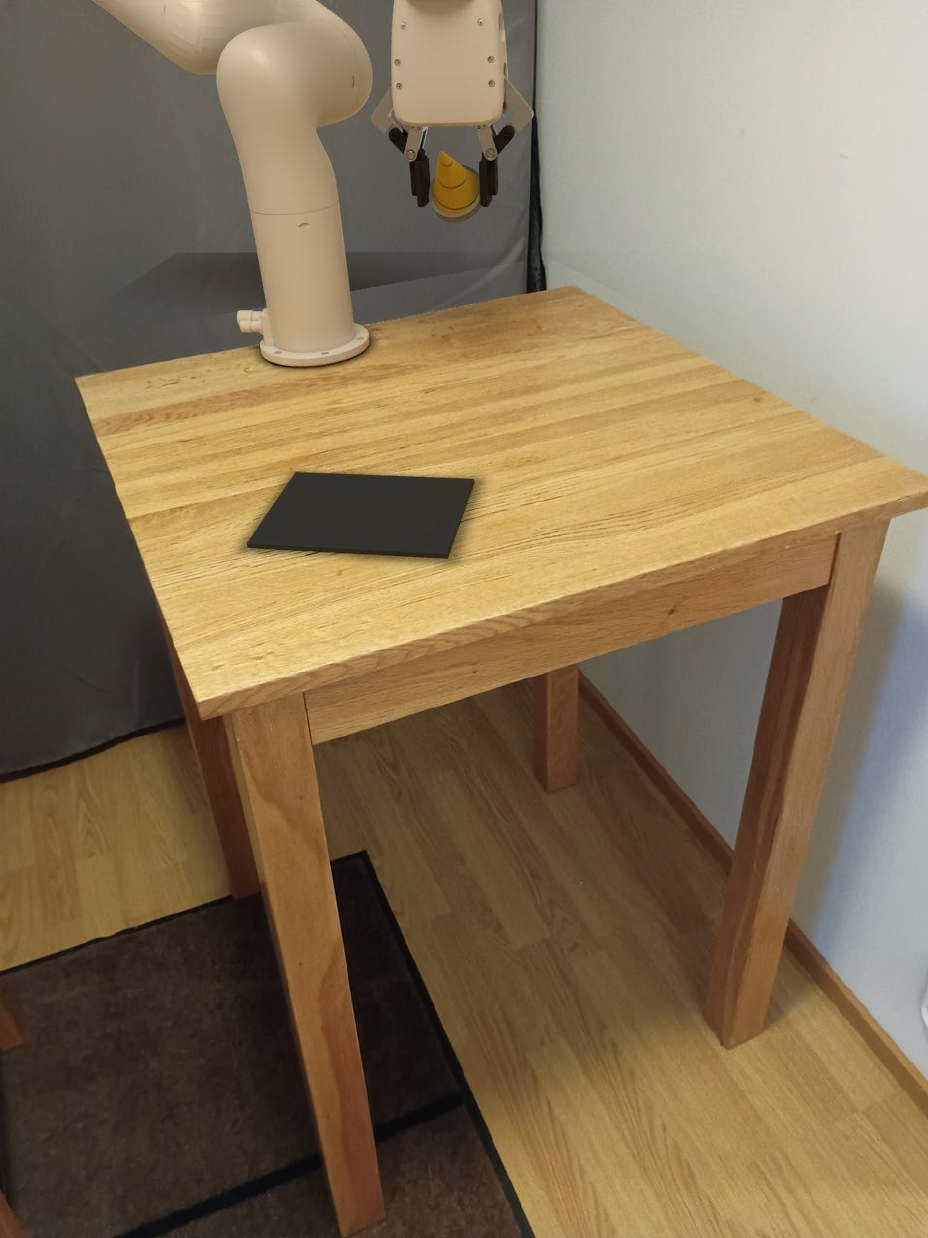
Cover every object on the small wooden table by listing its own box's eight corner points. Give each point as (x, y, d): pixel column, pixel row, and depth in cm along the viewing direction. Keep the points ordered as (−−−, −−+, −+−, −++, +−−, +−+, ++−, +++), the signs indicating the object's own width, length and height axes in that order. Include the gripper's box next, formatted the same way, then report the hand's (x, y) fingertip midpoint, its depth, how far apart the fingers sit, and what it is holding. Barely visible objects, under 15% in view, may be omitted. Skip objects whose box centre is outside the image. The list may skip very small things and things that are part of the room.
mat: (247, 547, 72) (246, 543, 72) (296, 475, 82) (295, 471, 82) (447, 558, 70) (447, 553, 69) (474, 482, 79) (474, 478, 79)
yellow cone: (499, 218, 91) (480, 156, 82) (453, 247, 92) (428, 190, 82) (474, 177, 93) (452, 111, 83) (428, 206, 93) (401, 144, 84)
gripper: (550, -33, 80) (548, 194, 90) (358, -24, 82) (378, 195, 93) (540, -29, 74) (539, 213, 84) (334, -20, 77) (359, 213, 87)
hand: (455, 201), depth 89 cm, fingers closed on yellow cone, 5 cm apart
